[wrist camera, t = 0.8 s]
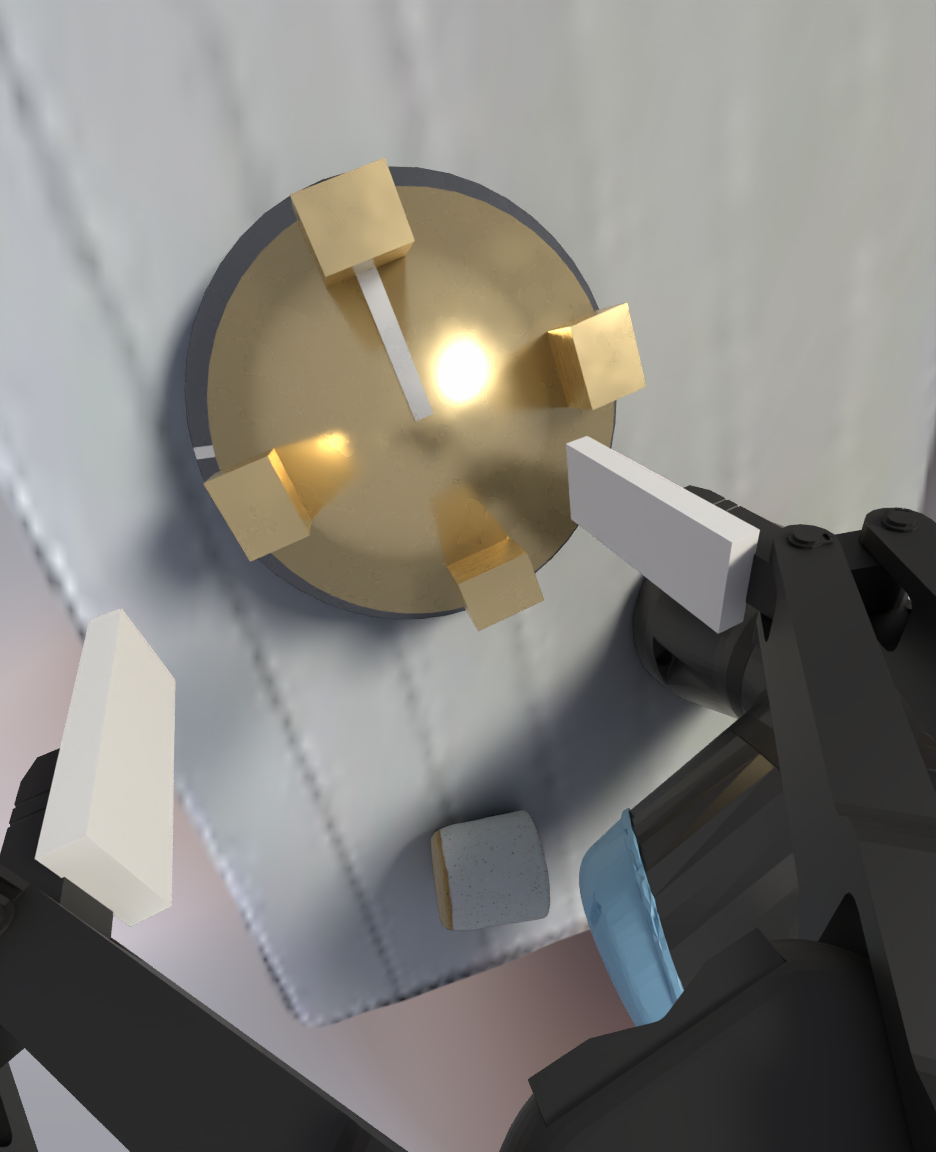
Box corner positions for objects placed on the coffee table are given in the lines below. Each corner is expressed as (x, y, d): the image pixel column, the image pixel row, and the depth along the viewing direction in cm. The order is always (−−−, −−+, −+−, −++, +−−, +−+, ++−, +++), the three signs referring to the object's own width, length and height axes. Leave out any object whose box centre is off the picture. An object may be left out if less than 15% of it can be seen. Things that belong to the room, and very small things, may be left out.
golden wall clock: (653, 322, 32) (715, 311, 27) (507, 636, 36) (535, 677, 31) (292, 107, 25) (283, 37, 20) (168, 532, 29) (135, 564, 24)
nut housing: (656, 314, 35) (685, 308, 32) (503, 641, 40) (517, 661, 37) (275, 84, 27) (269, 49, 24) (148, 533, 32) (130, 548, 29)
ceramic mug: (423, 809, 44) (442, 894, 37) (521, 788, 45) (556, 866, 38) (432, 903, 47) (450, 995, 41) (521, 881, 49) (553, 966, 42)
